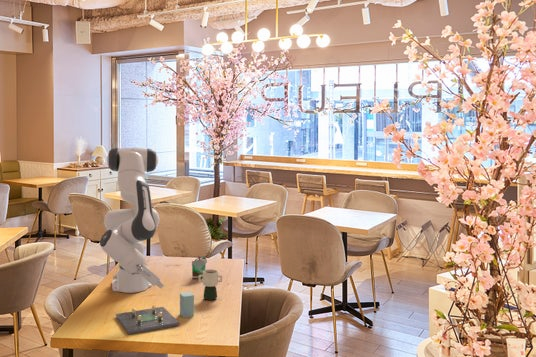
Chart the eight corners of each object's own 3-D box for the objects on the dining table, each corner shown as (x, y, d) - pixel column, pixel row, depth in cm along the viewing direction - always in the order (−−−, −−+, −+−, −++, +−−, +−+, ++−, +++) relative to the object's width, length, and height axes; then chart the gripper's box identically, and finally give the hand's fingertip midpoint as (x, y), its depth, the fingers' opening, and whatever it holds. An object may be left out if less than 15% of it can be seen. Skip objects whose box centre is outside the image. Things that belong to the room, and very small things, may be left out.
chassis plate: (116, 317, 216) (115, 306, 215) (163, 310, 225) (163, 299, 225) (128, 334, 198) (128, 323, 198) (178, 325, 208) (179, 314, 207)
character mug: (222, 296, 245) (222, 269, 244) (221, 301, 238) (222, 273, 237) (199, 296, 245) (199, 269, 243) (197, 301, 237) (198, 273, 236)
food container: (203, 281, 269) (203, 261, 268) (191, 280, 270) (191, 261, 269) (209, 274, 281) (209, 256, 280) (198, 273, 282) (198, 255, 281)
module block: (179, 314, 221) (179, 293, 220) (189, 312, 223) (190, 292, 222) (183, 317, 217) (183, 296, 216) (193, 316, 219) (193, 295, 218)
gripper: (147, 262, 199) (172, 284, 204) (133, 250, 216) (156, 271, 222) (135, 275, 197) (160, 297, 203) (122, 262, 215) (145, 282, 220)
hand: (158, 283), depth 213 cm, fingers open, 8 cm apart
